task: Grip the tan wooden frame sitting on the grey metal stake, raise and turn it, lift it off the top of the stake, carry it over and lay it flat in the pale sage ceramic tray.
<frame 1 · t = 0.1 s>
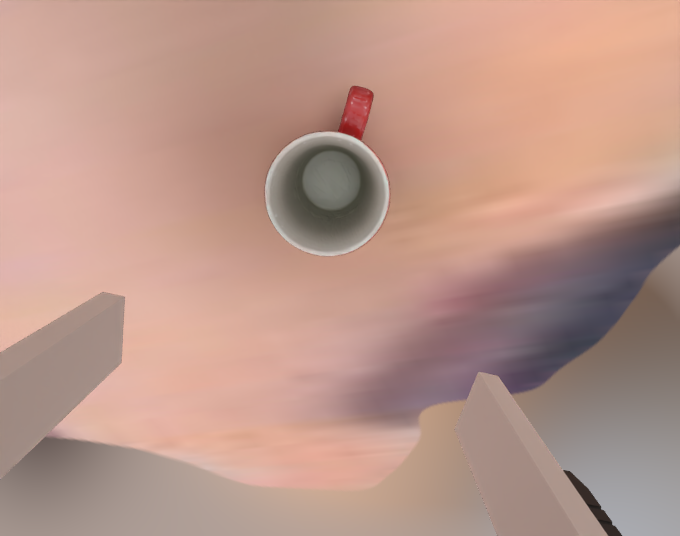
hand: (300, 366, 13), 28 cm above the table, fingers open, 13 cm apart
mug: (338, 165, 38), on the table
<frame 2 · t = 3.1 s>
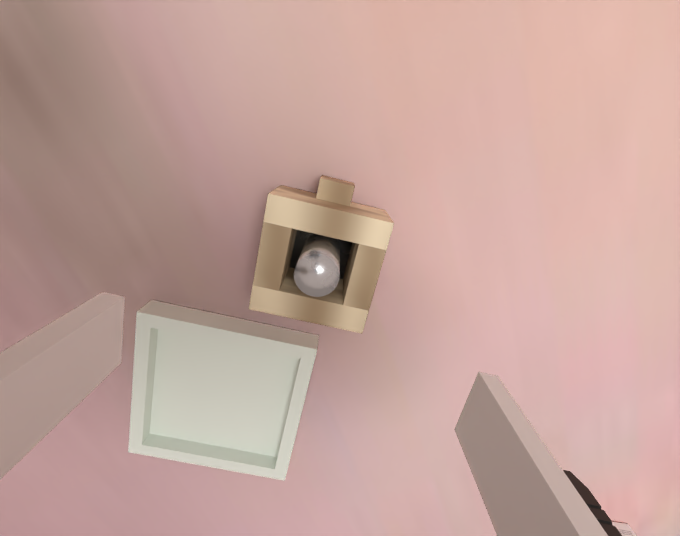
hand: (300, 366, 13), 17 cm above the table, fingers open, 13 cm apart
tan wooden frame: (322, 247, 28), point 1 cm above the table, touching stake
ink box: (584, 530, 40), on the table
tray: (225, 386, 34), on the table
stake: (323, 242, 30), on the table
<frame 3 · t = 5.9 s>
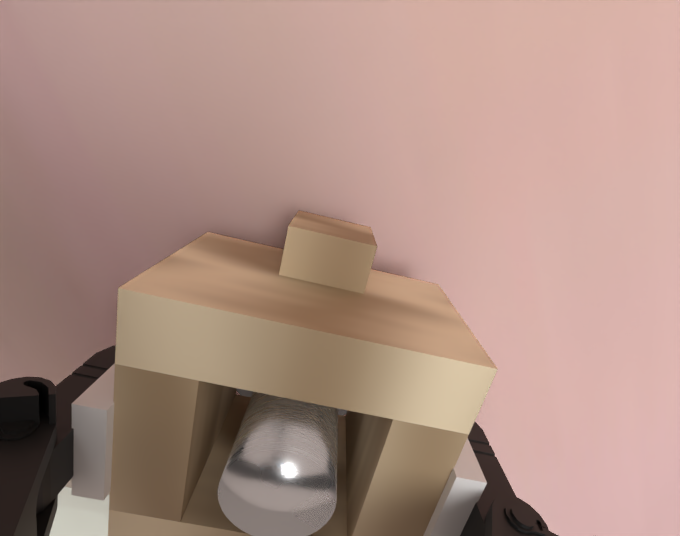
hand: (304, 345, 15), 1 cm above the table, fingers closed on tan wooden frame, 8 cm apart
tan wooden frame: (302, 358, 13), point 3 cm above the table, touching gripper
stake: (308, 334, 16), on the table
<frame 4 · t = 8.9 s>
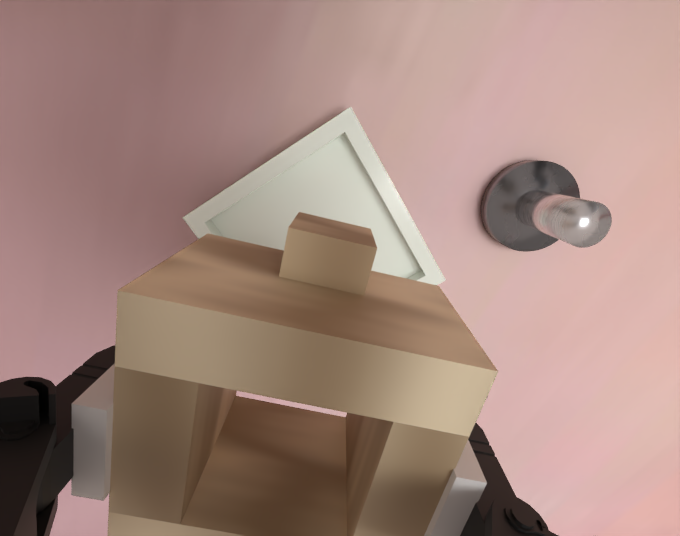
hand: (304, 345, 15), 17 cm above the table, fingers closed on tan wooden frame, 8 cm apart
tan wooden frame: (302, 359, 13), point 18 cm above the table, touching gripper
tray: (319, 242, 30), on the table
stake: (524, 205, 29), on the table
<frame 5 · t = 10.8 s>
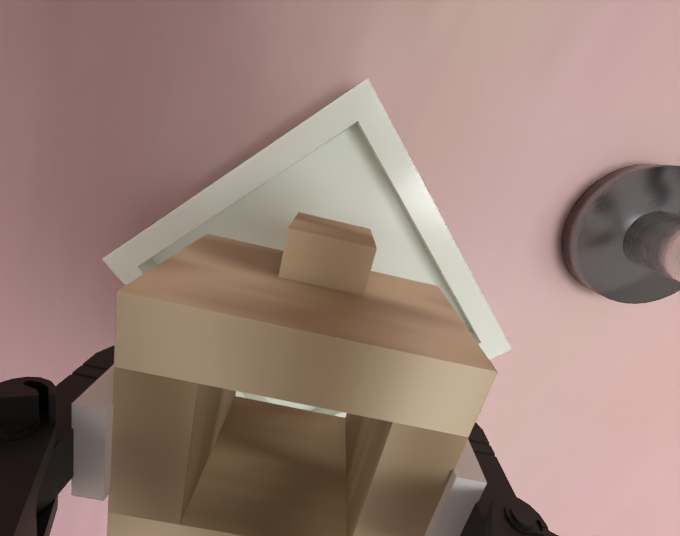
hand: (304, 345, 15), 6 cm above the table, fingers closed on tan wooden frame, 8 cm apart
tan wooden frame: (301, 359, 13), point 7 cm above the table, touching gripper
tray: (317, 288, 20), on the table
stake: (629, 232, 19), on the table
when the fingers open (2 cm above the table, at t = 12.0 s): tan wooden frame drops 2 cm, resting on tray.
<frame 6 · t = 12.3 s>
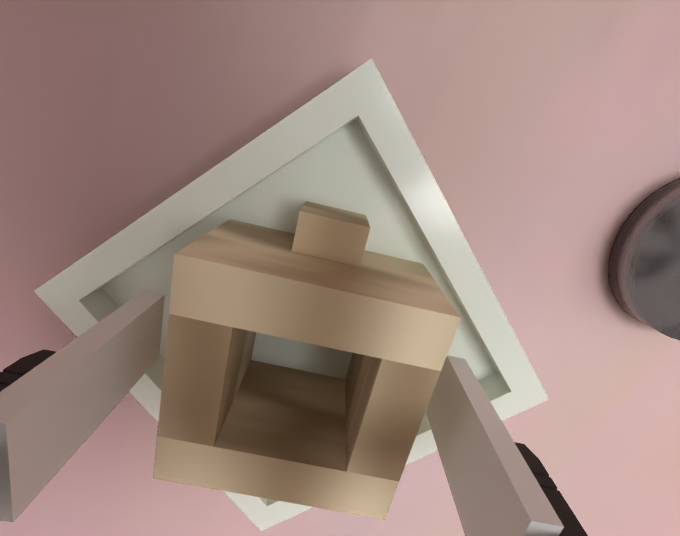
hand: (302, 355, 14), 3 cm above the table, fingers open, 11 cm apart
tan wooden frame: (308, 327, 16), point 1 cm above the table, touching tray
tray: (309, 320, 17), on the table
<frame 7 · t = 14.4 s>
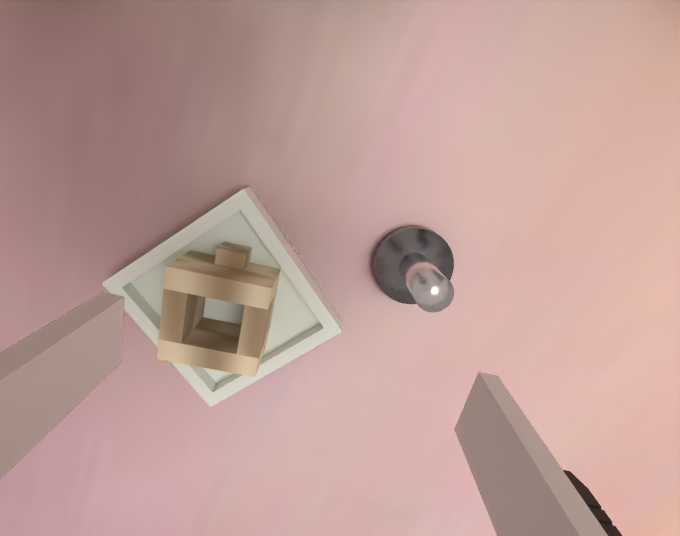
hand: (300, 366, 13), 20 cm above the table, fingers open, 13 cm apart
tan wooden frame: (230, 300, 33), point 1 cm above the table, touching tray
tray: (232, 298, 34), on the table
stake: (410, 262, 33), on the table
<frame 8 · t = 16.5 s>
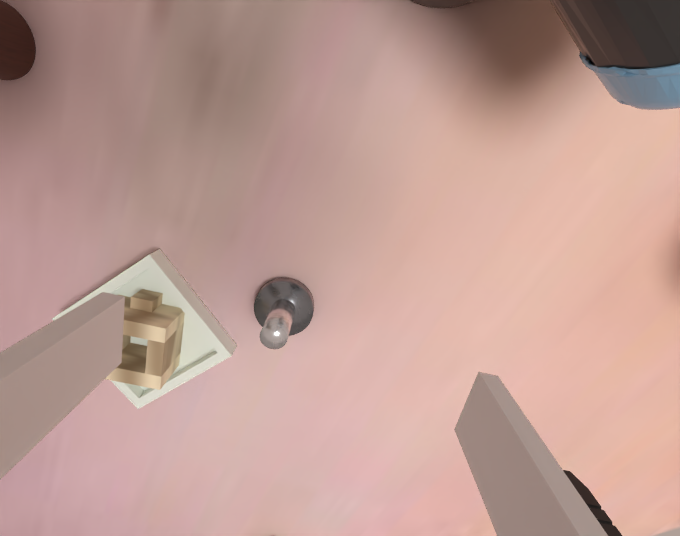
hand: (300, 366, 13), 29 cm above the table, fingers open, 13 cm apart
tan wooden frame: (149, 330, 44), point 1 cm above the table, touching tray
lamp: (1, 41, 35), on the table
tray: (153, 328, 45), on the table
stake: (285, 304, 44), on the table
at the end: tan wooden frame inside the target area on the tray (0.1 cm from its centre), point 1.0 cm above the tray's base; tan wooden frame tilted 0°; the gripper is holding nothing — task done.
